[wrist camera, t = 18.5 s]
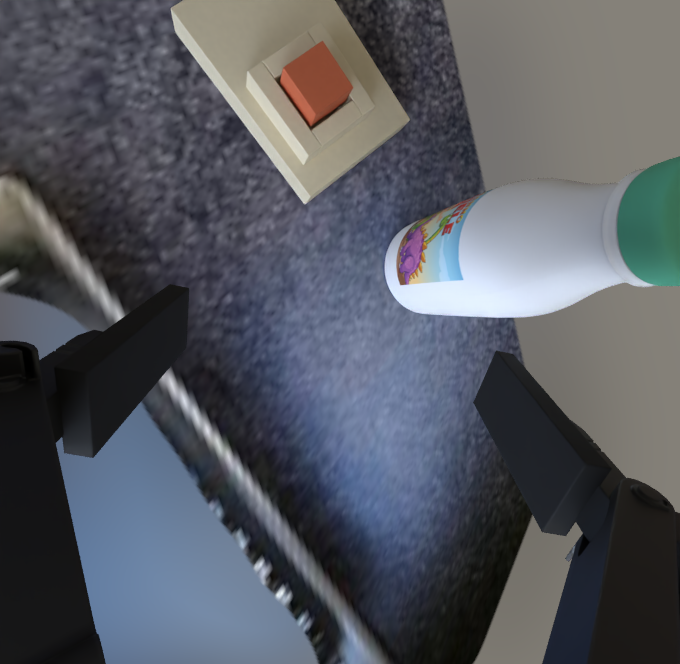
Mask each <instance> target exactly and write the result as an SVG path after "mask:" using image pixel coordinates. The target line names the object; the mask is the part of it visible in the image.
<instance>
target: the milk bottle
mask: <svg viewBox="0 0 680 664" xmlns="http://www.w3.org/2000/svg"><path fill="white" fill-rule="evenodd" d="M385 276H386V281H387V284H388V287H389V289H390V291H391V293H392V294H393V296H394V297H395V299H396V300H397V301H398V302H399V303H400V304H401V305H403V306H404V307H405V308H407V309H409V310H411V311H414V312H417V313H423V314H434V315H452V316H471V317H496V318H501V317H529V316H537V315H543V314H547V313H551V312H555V311H557V310H560V309H563V308H566V307H568V306H570V305H572V304H574V303H576V302H578V301H580V300H582V299H584V298H585V297H587V296H589V295H591V294H593V293H595V292H597V291H599V290H602V289H604V288H607V287H610V286H613V285H616V284H620V283H623V282H627V283H629V284H631V285H634V286H639V287H650V286H654V285H658V286H680V157H676V158H673V159H669V160H667V161H664V162H661V163H658V164H655V165H653V166H651V167H649V168H647V169H640V170H636V171H634V172H632V173H630V174H628V175H626V176H625V177H624V178H623V179H622V180H621V181H619V182H618V183H610V184H588V183H580V182H575V181H569V180H562V179H553V178H538V179H529V180H522V181H518V182H514V183H510V184H506V185H503V186H501V187H498V188H495V189H493V190H490V191H487V192H484V193H482V194H479V195H477V196H474V197H472V198H470V199H467V200H465V201H463V202H460V203H458V204H455V205H453V206H451V207H448V208H446V209H444V210H441V211H439V212H437V213H434V214H432V215H430V216H428V217H425V218H423V219H421V220H418V221H416V222H414V223H412V224H410V225H408V226H407V227H405V228H403V229H402V230H401V231H400V232H399V233H398V234H397V235H396V236H395V237H394V239H393V240H392V242H391V243H390V245H389V248H388V250H387V254H386V258H385Z"/></svg>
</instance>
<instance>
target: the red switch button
mask: <svg viewBox="0 0 680 664" xmlns="http://www.w3.org/2000/svg"><path fill="white" fill-rule="evenodd" d="M280 85H281V86H282V88H283V89H284V91H285V92H286V93H287V95H288V96H289V98H290V99H291V101H292V102H293V103H294V105H295V106H296V108H297V109H298V110H299V112H300V113H301V115H302V116H303V118H304V119H305V120H306V122H307V123H308V125H309V126H310V127H311V126H313V125H314V124H315V123H317V122H318V121H319V120H321V119H322V118H324V117H325V116H326V115H328V114H329V113H330V112H332V111H333V110H334V109H336V108H337V107H339V106H340V105H341V104H343V103H344V102H345V101H346V100H347V98H348V96H349V94H350V93H351V91H352V89H353V86H352V84H351V83H350V81H349V80H348V78H347V77H346V75H345V74H344V72H343V71H342V69H341V68H340V66H339V64H338V63H337V61H336V60H335V58H334V57H333V55H332V54H331V52H330V51H329V49H328V48H327V46H326V45H325V43H324V42H323V41H321V42H320V43H318V44H317V45H315V46H314V47H312V48H311V49H309V50H308V51H307V52H305V53H304V54H302V55H301V56H299V57H298V58H296V59H295V60H293V61H292V62H291V63H289V64H288V65H286V66H285V67H283V71H282V75H281V79H280Z"/></svg>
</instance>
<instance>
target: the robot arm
mask: <svg viewBox="0 0 680 664" xmlns="http://www.w3.org/2000/svg"><path fill="white" fill-rule="evenodd" d="M188 302H189V288H185V287H180V286H176V285H171V284H170V285H168V286H167V287H166V288H164V289H163V290H161V291H160V292H159V293H157V294H156V295H154V296H153V297H152V298H150V299H149V300H147V301H146V302H145V303H143V304H142V305H140V306H139V307H138V308H136V309H135V310H133V311H132V312H131V313H129V314H128V315H126V316H125V317H124V318H122V319H121V320H119V321H118V322H117V323H115V324H114V325H112V326H111V327H109V328H108V329H107V330H105V331H104V332H102V331H97V330H92V331H89V332H86V333H84V334H80V335H78V336H76V337H74V338H73V339H71V340H70V341H68V342H67V343H66V344H65V345H62V346H61V347H59V348H58V349H56V351H53V352H52V353H50V354H49V355H47V356H45V357H44V358H42V359H41V360H39V355H38V350H37V348H36V347H35V346H34V345H32V344H29V343H27V342H20V341H0V664H106V663H105V659H104V654H103V650H102V646H101V642H100V638H99V635H98V634H97V633H96V629H95V625H94V621H93V616H92V611H91V607H90V603H89V597H88V593H87V588H86V583H85V579H84V574H83V569H82V565H81V560H80V555H79V551H78V546H77V541H76V537H75V532H74V527H73V522H72V518H71V513H70V509H69V504H68V499H67V494H66V490H65V485H64V480H63V476H62V471H61V466H60V462H59V457H58V452H57V448H56V442H57V441H58V440H59V439H60V438H61V437H62V438H63V446H64V453H67V454H73V455H79V456H85V457H92V458H93V457H94V456H95V455H96V454H97V453H98V452H99V450H100V449H101V448H102V447H103V446H104V445H105V443H106V442H107V441H108V440H109V439H110V437H111V436H112V435H113V434H114V433H115V431H116V430H117V429H118V428H119V427H120V426H121V424H122V423H123V422H124V421H125V420H126V418H127V417H128V416H129V415H130V414H131V413H132V411H133V410H134V409H135V408H136V407H137V405H138V404H139V403H140V402H141V401H142V400H143V398H144V397H145V396H146V395H147V394H148V392H149V391H150V390H151V389H152V388H153V386H154V385H155V384H156V383H157V382H158V381H159V379H160V378H161V377H162V376H163V375H164V373H165V372H166V371H167V370H168V369H169V368H170V366H171V365H172V364H173V363H174V362H175V360H176V359H177V358H178V357H179V356H180V355H181V353H182V352H183V351H184V350H185V349H186V343H187V323H188ZM473 403H474V405H475V406H476V408H477V410H478V412H479V414H480V416H481V418H482V420H483V422H484V423H485V425H486V427H487V429H488V431H489V433H490V435H491V437H492V439H493V440H494V442H495V444H496V446H497V448H498V450H499V452H500V454H501V455H502V457H503V459H504V461H505V463H506V465H507V467H508V469H509V471H510V472H511V474H512V476H513V478H514V480H515V482H516V484H517V486H518V488H519V489H520V491H521V493H522V495H523V497H524V499H525V501H526V503H527V505H528V506H529V508H530V510H531V512H532V514H533V516H534V518H535V520H536V521H537V523H538V525H539V527H540V529H541V531H542V532H544V533H550V534H557V535H563V536H566V535H567V534H568V532H569V531H570V529H571V528H572V526H573V525H574V523H575V522H576V523H577V524H578V526H579V527H580V529H581V531H582V532H583V534H582V536H581V537H580V538H579V540H578V541H577V542H576V544H575V545H574V547H573V548H572V550H571V551H570V553H569V554H568V555H567V557H566V558H565V559H566V560H567V561H570V560H571V559H572V561H571V564H570V568H569V571H568V575H567V578H566V582H565V586H564V589H563V592H562V596H561V600H560V603H559V607H558V610H557V614H556V617H555V621H554V624H553V628H552V631H551V635H550V638H549V642H548V645H547V649H546V653H545V656H544V660H543V663H542V664H680V513H677V512H675V510H674V508H673V506H672V505H671V503H670V502H669V501H668V500H667V499H666V498H665V497H664V496H663V495H661V494H660V493H659V492H658V491H657V490H655V489H653V488H652V487H650V486H649V485H647V484H645V483H642V482H640V481H638V480H635V479H631V478H626V477H625V476H624V475H623V474H622V473H621V472H620V470H619V469H618V468H617V467H616V466H615V465H614V464H613V462H612V461H611V460H610V459H609V458H608V457H607V456H606V455H605V453H604V452H601V449H600V448H599V447H598V446H597V444H596V443H593V440H592V439H591V438H590V436H589V435H588V434H587V433H586V432H585V431H584V430H583V429H582V428H580V427H579V426H577V425H576V424H575V423H574V422H573V421H571V420H569V418H568V417H567V416H566V415H565V414H564V413H563V411H562V410H561V409H560V408H559V407H558V406H557V405H556V403H555V402H554V401H553V400H552V399H551V398H550V396H549V395H548V394H547V393H546V392H545V391H544V389H543V388H542V387H541V386H540V385H539V384H538V383H537V381H536V380H535V379H534V378H533V377H532V376H531V374H530V373H529V372H528V371H527V370H526V369H525V367H524V366H523V365H522V364H521V363H520V362H519V361H518V359H517V358H516V357H515V356H514V355H513V354H510V353H505V352H500V351H496V352H495V355H494V357H493V359H492V361H491V364H490V366H489V368H488V370H487V373H486V375H485V377H484V380H483V382H482V384H481V386H480V389H479V391H478V393H477V396H476V398H475V400H474V402H473Z"/></svg>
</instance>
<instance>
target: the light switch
mask: <svg viewBox="0 0 680 664" xmlns="http://www.w3.org/2000/svg"><path fill="white" fill-rule="evenodd" d="M171 13H172V18H173V23H174V28H175V32H176V34H177V35H178V36H179V38H180V39H181V40H182V42H183V43H184V44H185V46H186V47H187V48H188V50H189V51H190V52H191V54H192V55H193V56H194V58H195V59H196V60H197V62H198V63H199V64H200V66H201V67H202V68H203V70H204V71H205V72H206V74H207V75H208V76H209V78H210V79H211V80H212V82H213V83H214V84H215V86H216V87H217V88H218V90H219V91H220V92H221V94H222V95H223V96H224V98H225V99H226V100H227V102H228V103H229V104H230V106H231V107H232V108H233V110H234V111H235V112H236V114H237V115H238V116H239V118H240V119H241V120H242V122H243V123H244V124H245V126H246V127H247V128H248V130H249V131H250V132H251V134H252V135H253V136H254V138H255V139H256V140H257V142H258V143H259V144H260V146H261V147H262V148H263V150H264V151H265V152H266V154H267V155H268V156H269V158H270V159H271V160H272V162H273V163H274V164H275V166H276V167H277V168H278V170H279V171H280V172H281V174H282V175H283V176H284V178H285V179H286V180H287V182H288V183H289V184H290V186H291V187H292V188H293V190H294V191H295V192H296V194H297V195H298V196H299V198H300V199H301V200H302V202H303V203H304V204H307V203H308V202H309V201H310V200H312V199H313V198H314V197H316V196H317V195H318V194H319V193H321V192H322V191H323V190H325V189H326V188H327V187H328V186H330V185H331V184H332V183H334V182H335V181H336V180H337V179H339V178H340V177H341V176H343V175H344V174H345V173H346V172H348V171H349V170H350V169H352V168H353V167H354V166H355V165H357V164H358V163H359V162H361V161H362V160H363V159H364V158H366V157H367V156H368V155H370V154H371V153H372V152H373V151H375V150H376V149H377V148H379V147H380V146H381V145H382V144H384V143H385V142H386V141H388V140H389V139H390V138H391V137H393V136H394V135H395V134H397V133H398V132H399V131H400V130H401V129H402V128H403V127H404V126H405V125H406V124H407V123H408V122H409V121H410V119H409V117H408V115H407V114H406V112H405V111H404V109H403V107H402V106H401V104H400V103H399V101H398V100H397V98H396V96H395V95H394V93H393V92H392V90H391V88H390V87H389V85H388V84H387V82H386V81H385V79H384V77H383V76H382V74H381V73H380V71H379V69H378V68H377V66H376V65H375V63H374V62H373V60H372V58H371V57H370V55H369V54H368V52H367V50H366V49H365V47H364V46H363V44H362V43H361V41H360V39H359V38H358V36H357V35H356V33H355V31H354V30H353V28H352V27H351V25H350V24H349V22H348V20H347V19H346V17H345V16H344V14H343V12H342V11H341V9H340V8H339V6H338V5H337V3H336V1H335V0H183V1H181V2H180V3H178V4H177V5H175V6H173V7H172V8H171ZM321 41H323V42H324V43H325V45H326V46H327V48H328V49H329V51H330V52H331V54H332V55H333V57H334V58H335V60H336V61H337V63H338V64H339V66H340V68H341V69H342V71H343V72H344V74H345V75H346V77H347V78H348V80H349V81H350V83H351V84H352V86H353V89H352V91H351V93H350V94H349V96H348V98H347V100H346V101H345V102H344V103H343V104H341V105H340V106H339V107H337V108H336V109H334V110H333V111H332V112H330V113H329V114H328V115H326V116H325V117H324V118H322V119H321V120H319V121H318V122H317V123H315V124H314V125H313V126H311V127H310V126H309V125H308V123H307V122H306V120H305V119H304V118H303V116H302V115H301V113H300V112H299V110H298V109H297V108H296V106H295V105H294V103H293V102H292V101H291V99H290V98H289V96H288V95H287V93H286V92H285V91H284V89H283V88H282V86H281V85H280V79H281V75H282V71H283V67H285V66H286V65H288V64H289V63H291V62H292V61H293V60H295V59H296V58H298V57H299V56H301V55H302V54H304V53H305V52H307V51H308V50H309V49H311V48H312V47H314V46H315V45H317V44H318V43H320V42H321Z"/></svg>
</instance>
